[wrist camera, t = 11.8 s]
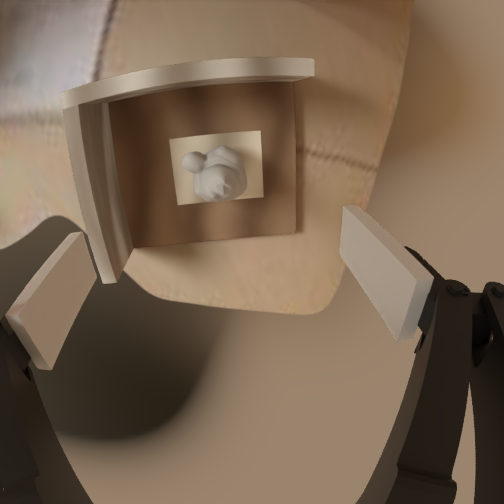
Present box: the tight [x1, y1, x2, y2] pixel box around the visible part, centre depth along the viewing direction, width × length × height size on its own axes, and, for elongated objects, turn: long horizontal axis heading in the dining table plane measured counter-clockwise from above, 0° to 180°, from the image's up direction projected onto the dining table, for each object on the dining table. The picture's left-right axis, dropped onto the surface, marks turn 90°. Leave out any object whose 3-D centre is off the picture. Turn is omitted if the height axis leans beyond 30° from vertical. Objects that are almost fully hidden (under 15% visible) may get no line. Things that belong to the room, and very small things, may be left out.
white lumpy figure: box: [182, 145, 247, 202], centre depth 25 cm, size 5×7×8 cm
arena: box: [62, 57, 315, 283], centre depth 26 cm, size 20×18×8 cm
